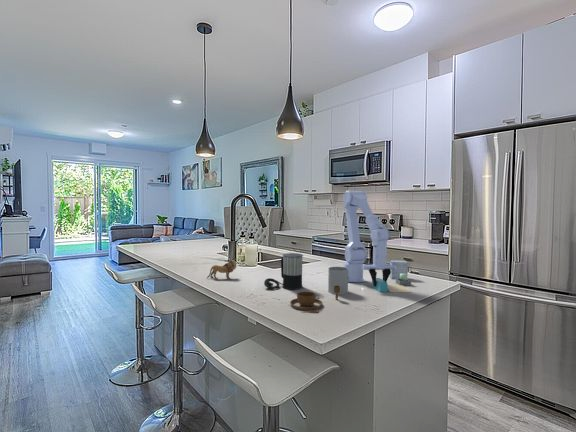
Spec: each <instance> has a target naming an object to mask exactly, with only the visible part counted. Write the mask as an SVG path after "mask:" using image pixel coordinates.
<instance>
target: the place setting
mask: <svg viewBox="0 0 576 432" xmlns="http://www.w3.org/2000/svg"><path fill="white" fill-rule="evenodd" d="M339 292H340V286H337V285H336V286H334V293H336V294H335V301H338V300H339V299H338V298H339V294H337V293H339ZM316 296H317V294H316V293H315V292H313V291H299V292H297V293H296V297H297V298H293V299H292V300H290V301H289V302H290V306H291V308H293V309H295V310H300V311H301V312H300V313H303V314H307V313H310V314H317V313H319V310H320V309H322V307H323V301H322V300H320V298H319V297H316ZM296 303H298V304H299V305H301V306H298V305H294V304H296ZM315 303H316V304H318V305H317V306H312V305H314V304H315Z"/></svg>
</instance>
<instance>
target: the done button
mask: <svg viewBox="0 0 576 432" xmlns="http://www.w3.org/2000/svg"><path fill="white" fill-rule="evenodd" d="M407 279H408V273H407V274H404V273H401V274H400V281H407Z"/></svg>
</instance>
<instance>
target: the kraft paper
mask: <svg viewBox="0 0 576 432" xmlns="http://www.w3.org/2000/svg"><path fill="white" fill-rule="evenodd" d="M387 291H389V292H390V293H412V291H411V290H410V289H408V288H407V287H405V285H398V284H387Z"/></svg>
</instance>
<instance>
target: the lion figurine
mask: <svg viewBox="0 0 576 432" xmlns="http://www.w3.org/2000/svg"><path fill="white" fill-rule="evenodd" d="M236 268H237V261H236V260H234V259H230V260H229V261H228V262H226V263H224V264H223V265H218V264H214V265H212V266H211V268H210V270H209V274H208V276H207V277H206V279H208V278H213V279H215V280H218V277H217V276H216V275H217V273H221V274H224V273H225V277H226V278H227V280H230V279H231V278H230V273H233V272H234V270H236Z"/></svg>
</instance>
